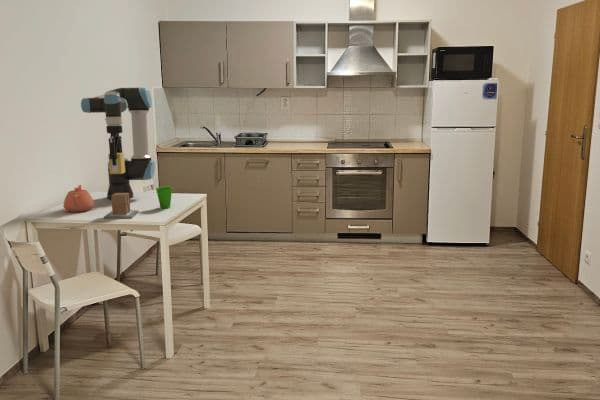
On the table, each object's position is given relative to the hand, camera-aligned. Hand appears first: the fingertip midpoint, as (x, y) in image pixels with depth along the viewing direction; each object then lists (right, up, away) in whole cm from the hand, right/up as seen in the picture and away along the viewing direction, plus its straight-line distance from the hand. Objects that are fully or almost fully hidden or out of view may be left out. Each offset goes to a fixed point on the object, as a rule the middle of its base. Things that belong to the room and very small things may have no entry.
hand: (117, 170), depth 279 cm
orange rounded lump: (-27, -20, +19) cm, 39 cm away
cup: (+19, -19, +22) cm, 35 cm away
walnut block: (+1, -22, +4) cm, 22 cm away
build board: (+1, -23, +5) cm, 23 cm away
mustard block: (0, -1, 0) cm, 1 cm away
